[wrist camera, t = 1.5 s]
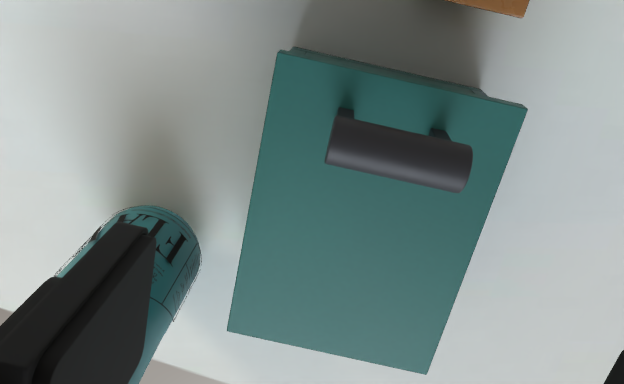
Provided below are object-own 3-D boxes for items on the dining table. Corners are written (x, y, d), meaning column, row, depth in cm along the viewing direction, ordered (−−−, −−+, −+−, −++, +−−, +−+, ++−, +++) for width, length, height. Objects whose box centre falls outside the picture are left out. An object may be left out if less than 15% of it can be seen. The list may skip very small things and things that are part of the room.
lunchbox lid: (279, 49, 23) (258, 72, 18) (523, 104, 23) (569, 142, 18) (229, 322, 28) (203, 397, 23) (424, 364, 28) (440, 448, 23)
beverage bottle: (221, 209, 33) (58, 506, 15) (198, 294, 36) (35, 637, 18) (119, 177, 33) (-175, 442, 15) (103, 265, 36) (-163, 584, 17)
